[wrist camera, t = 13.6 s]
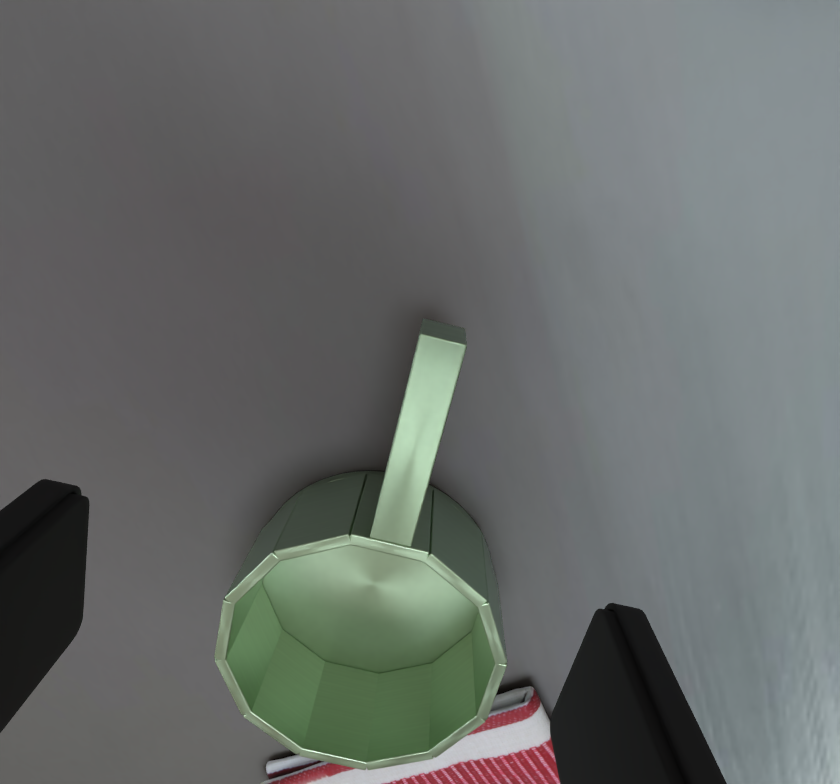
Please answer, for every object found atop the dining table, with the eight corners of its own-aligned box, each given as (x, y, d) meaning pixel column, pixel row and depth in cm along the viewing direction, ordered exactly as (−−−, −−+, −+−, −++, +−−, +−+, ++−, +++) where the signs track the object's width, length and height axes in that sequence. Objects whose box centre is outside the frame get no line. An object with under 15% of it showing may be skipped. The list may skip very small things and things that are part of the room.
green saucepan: (458, 689, 31) (460, 792, 26) (243, 641, 31) (201, 735, 26) (578, 339, 25) (613, 380, 20) (309, 272, 24) (271, 296, 19)
